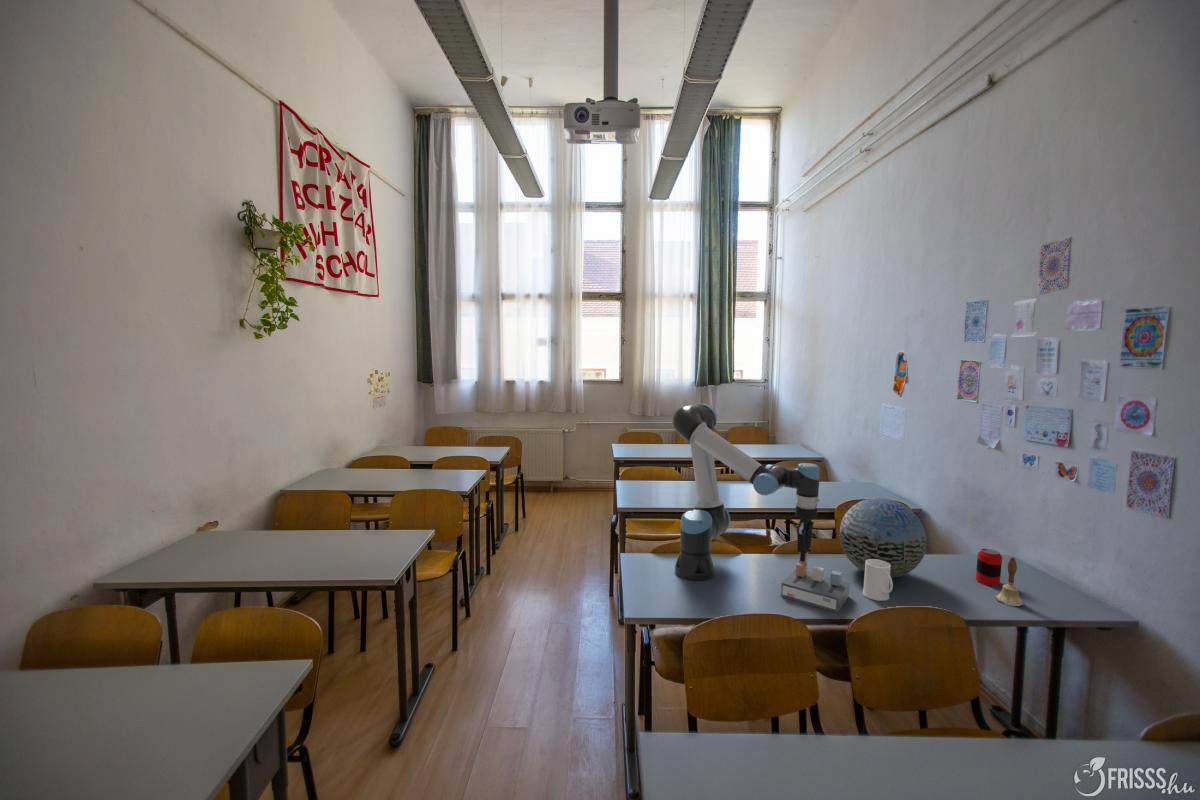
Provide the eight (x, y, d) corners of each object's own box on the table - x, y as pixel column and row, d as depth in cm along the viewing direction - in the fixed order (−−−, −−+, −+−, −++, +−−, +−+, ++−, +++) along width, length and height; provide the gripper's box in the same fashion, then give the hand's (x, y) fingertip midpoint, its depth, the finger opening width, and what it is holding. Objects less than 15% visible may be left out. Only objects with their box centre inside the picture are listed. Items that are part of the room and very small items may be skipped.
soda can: (981, 576, 218) (983, 546, 216) (1003, 583, 211) (1006, 552, 210) (971, 580, 213) (974, 550, 212) (994, 587, 207) (997, 556, 206)
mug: (900, 605, 193) (902, 571, 191) (876, 605, 192) (879, 572, 190) (879, 589, 204) (882, 558, 203) (857, 590, 203) (859, 558, 202)
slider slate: (830, 584, 196) (830, 573, 195) (832, 581, 198) (833, 570, 198) (839, 586, 194) (839, 575, 194) (841, 583, 196) (842, 572, 196)
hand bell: (1016, 609, 191) (1020, 564, 189) (989, 599, 198) (993, 555, 196) (1029, 604, 195) (1033, 559, 193) (1002, 594, 202) (1006, 551, 200)
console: (780, 596, 197) (781, 583, 197) (794, 582, 210) (795, 569, 209) (836, 613, 186) (837, 598, 185) (848, 596, 198) (849, 582, 198)
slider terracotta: (795, 575, 203) (796, 564, 203) (798, 572, 205) (798, 562, 205) (804, 577, 201) (804, 566, 201) (806, 574, 204) (807, 564, 203)
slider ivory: (812, 579, 199) (813, 568, 199) (814, 577, 202) (815, 566, 201) (821, 582, 198) (821, 571, 197) (823, 579, 200) (824, 568, 200)
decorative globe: (938, 579, 214) (944, 503, 211) (897, 598, 197) (903, 516, 194) (864, 554, 238) (868, 485, 235) (821, 569, 222) (825, 495, 218)
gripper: (812, 512, 195) (808, 577, 198) (822, 504, 206) (818, 565, 208) (790, 508, 200) (786, 572, 202) (801, 500, 210) (798, 560, 213)
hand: (802, 568), depth 205 cm, fingers closed
